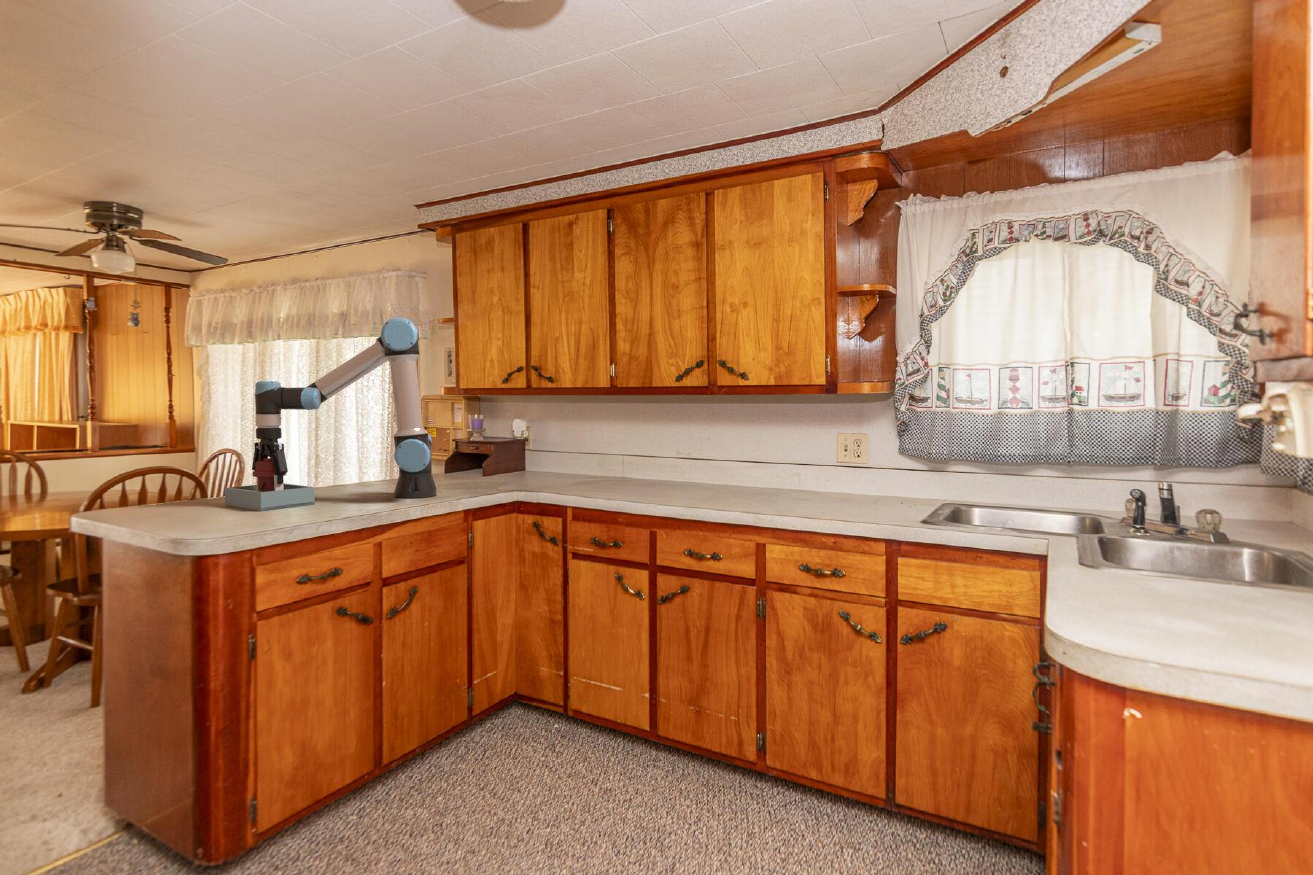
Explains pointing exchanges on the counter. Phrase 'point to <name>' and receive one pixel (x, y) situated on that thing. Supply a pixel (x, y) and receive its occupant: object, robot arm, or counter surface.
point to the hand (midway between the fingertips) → (270, 492)
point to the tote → (269, 497)
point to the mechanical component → (265, 475)
